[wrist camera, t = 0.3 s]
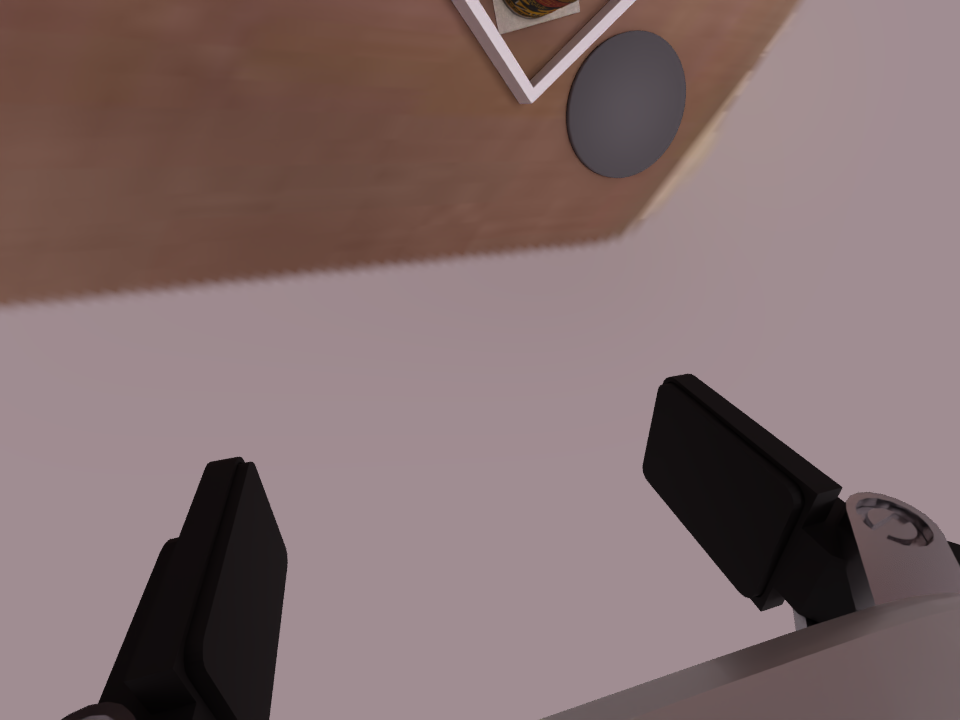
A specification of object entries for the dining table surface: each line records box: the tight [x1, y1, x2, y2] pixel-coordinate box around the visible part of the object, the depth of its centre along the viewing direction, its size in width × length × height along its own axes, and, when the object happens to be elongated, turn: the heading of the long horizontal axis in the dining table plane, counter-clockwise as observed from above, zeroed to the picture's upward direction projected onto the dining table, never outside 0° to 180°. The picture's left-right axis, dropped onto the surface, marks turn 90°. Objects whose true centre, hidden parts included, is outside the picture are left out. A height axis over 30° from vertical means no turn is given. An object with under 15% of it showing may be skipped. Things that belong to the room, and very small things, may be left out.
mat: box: [566, 31, 686, 178], centre depth 42 cm, size 12×12×1 cm
